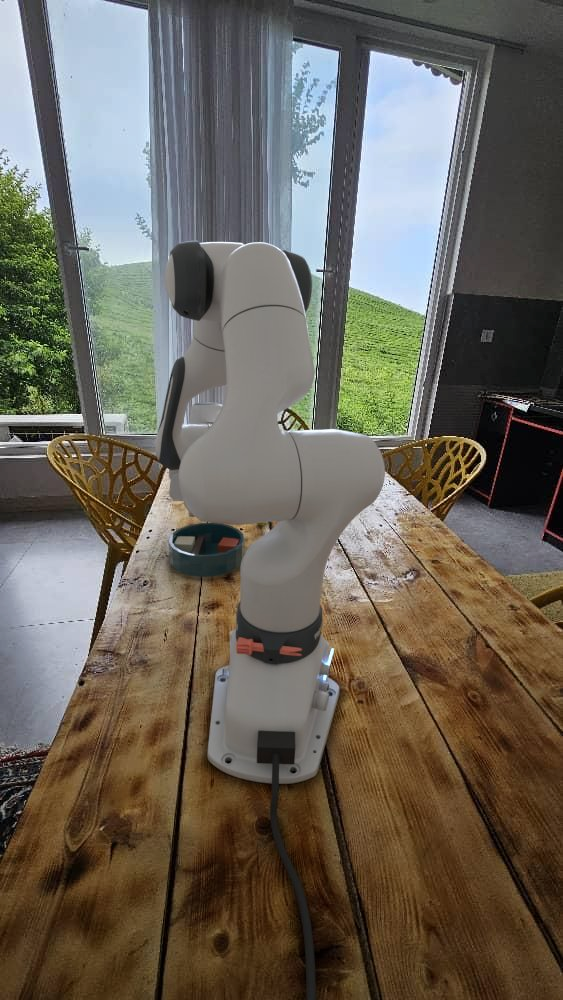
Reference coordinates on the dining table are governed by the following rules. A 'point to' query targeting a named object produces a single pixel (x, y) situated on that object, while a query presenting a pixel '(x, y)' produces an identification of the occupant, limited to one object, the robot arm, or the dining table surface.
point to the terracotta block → (227, 544)
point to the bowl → (207, 550)
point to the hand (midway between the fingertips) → (210, 517)
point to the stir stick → (199, 545)
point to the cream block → (185, 543)
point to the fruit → (262, 523)
